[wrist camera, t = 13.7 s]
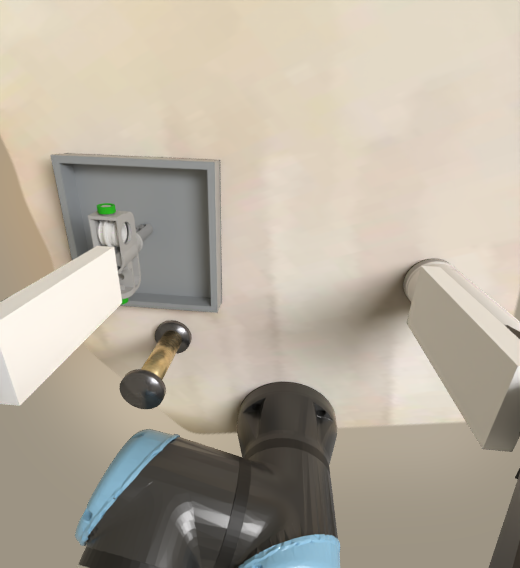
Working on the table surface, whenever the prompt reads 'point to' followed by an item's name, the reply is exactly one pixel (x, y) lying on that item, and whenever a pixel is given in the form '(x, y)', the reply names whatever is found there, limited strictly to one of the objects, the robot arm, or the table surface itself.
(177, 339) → the bobbin
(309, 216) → the table surface
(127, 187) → the parts tray
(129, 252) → the mechanical component
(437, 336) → the robot arm
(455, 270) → the travel mug
